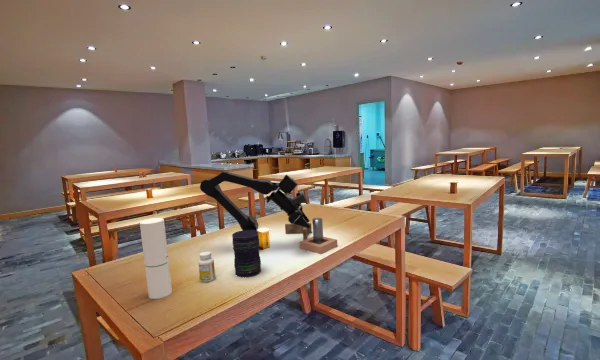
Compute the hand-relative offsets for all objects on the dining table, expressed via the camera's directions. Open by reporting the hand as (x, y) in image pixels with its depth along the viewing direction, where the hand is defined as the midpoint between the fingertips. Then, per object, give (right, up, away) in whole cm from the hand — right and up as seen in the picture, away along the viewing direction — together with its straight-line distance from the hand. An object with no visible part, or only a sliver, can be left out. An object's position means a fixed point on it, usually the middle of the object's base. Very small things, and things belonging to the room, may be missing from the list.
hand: (309, 224), depth 142 cm
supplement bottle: (-38, -16, -25) cm, 48 cm away
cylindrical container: (-51, -18, -35) cm, 64 cm away
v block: (-3, -8, +21) cm, 23 cm away
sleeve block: (+4, -10, +1) cm, 11 cm away
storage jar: (-24, -15, -21) cm, 35 cm away
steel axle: (+4, -10, +1) cm, 11 cm away
